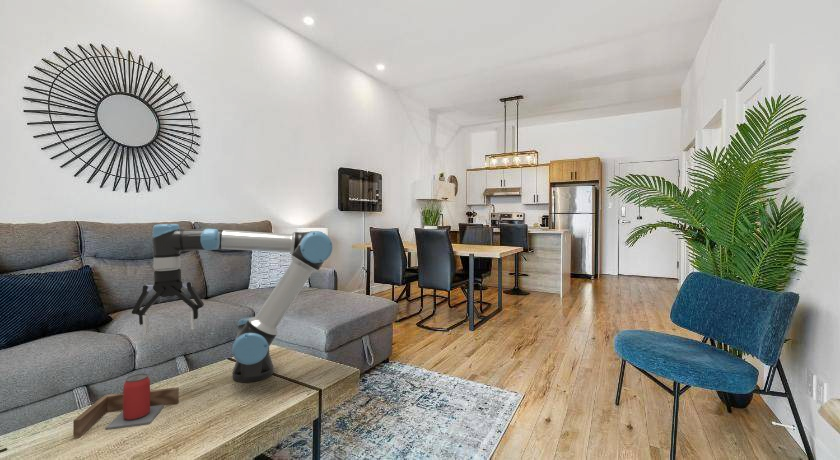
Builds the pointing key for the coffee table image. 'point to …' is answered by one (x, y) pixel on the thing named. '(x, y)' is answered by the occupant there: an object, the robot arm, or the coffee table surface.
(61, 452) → the coffee table surface
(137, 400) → the beer can
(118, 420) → the coaster
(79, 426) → the wooden corner frame
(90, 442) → the coffee table surface
